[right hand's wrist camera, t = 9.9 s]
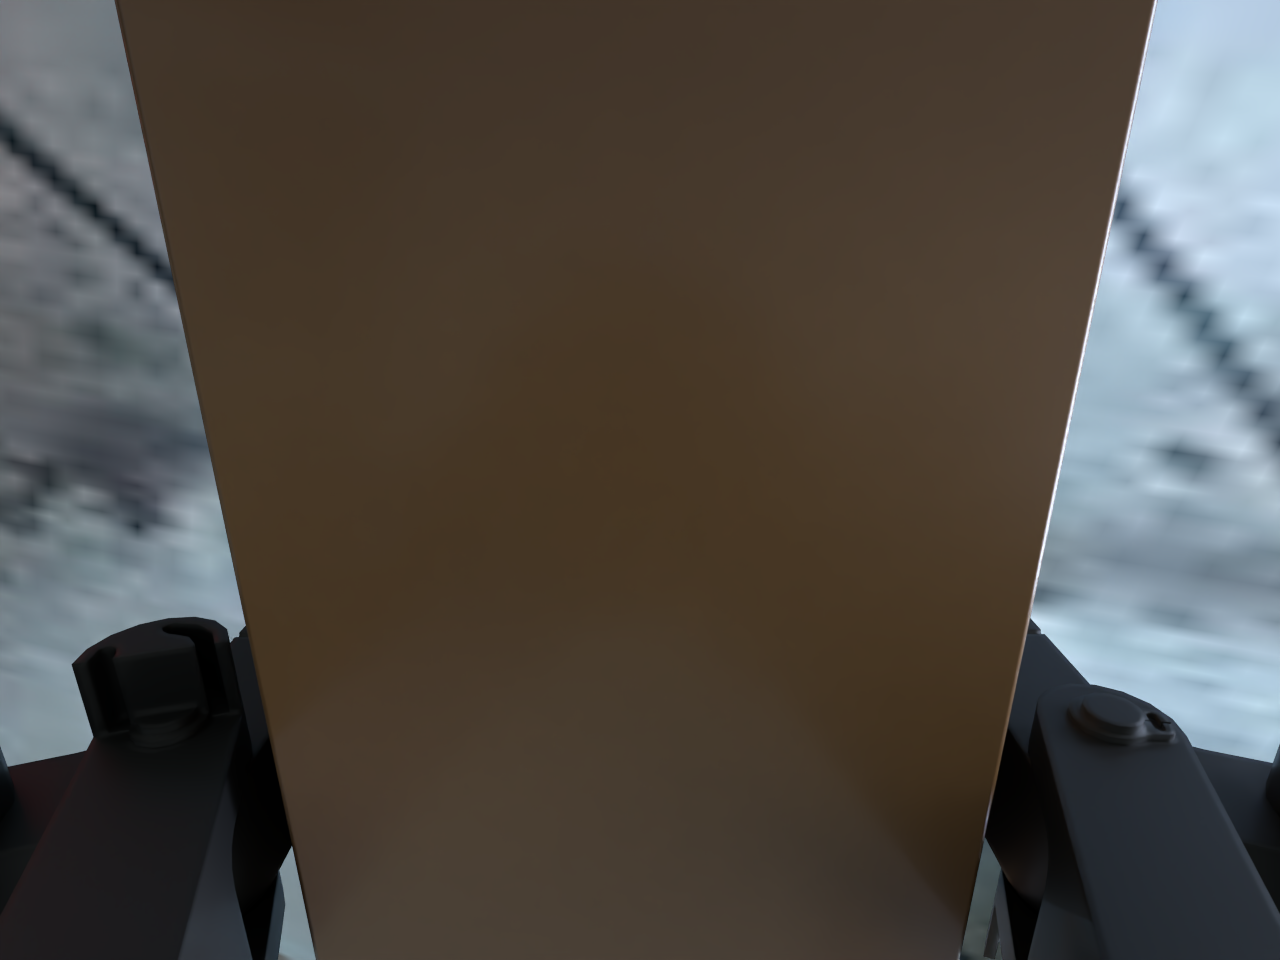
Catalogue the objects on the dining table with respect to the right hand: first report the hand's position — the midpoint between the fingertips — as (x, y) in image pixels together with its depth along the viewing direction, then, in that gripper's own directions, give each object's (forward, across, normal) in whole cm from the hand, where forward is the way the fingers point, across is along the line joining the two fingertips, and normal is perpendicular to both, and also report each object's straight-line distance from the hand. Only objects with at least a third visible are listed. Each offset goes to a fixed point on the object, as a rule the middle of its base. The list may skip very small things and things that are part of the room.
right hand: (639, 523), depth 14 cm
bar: (+1, 0, -8) cm, 8 cm away
